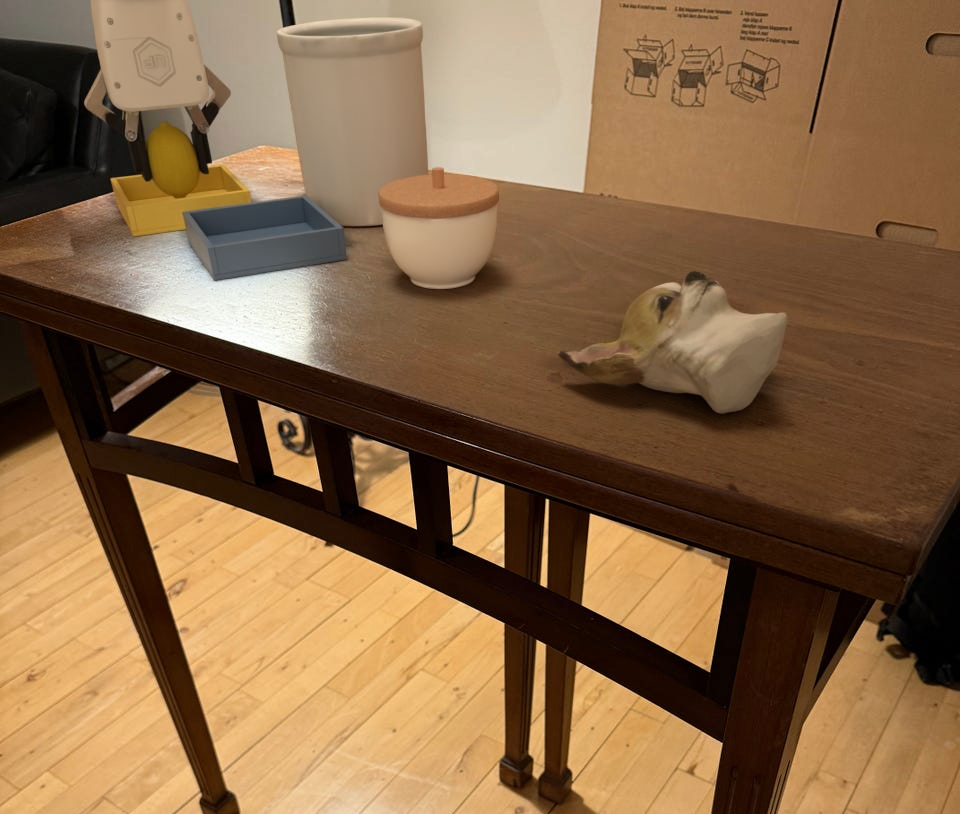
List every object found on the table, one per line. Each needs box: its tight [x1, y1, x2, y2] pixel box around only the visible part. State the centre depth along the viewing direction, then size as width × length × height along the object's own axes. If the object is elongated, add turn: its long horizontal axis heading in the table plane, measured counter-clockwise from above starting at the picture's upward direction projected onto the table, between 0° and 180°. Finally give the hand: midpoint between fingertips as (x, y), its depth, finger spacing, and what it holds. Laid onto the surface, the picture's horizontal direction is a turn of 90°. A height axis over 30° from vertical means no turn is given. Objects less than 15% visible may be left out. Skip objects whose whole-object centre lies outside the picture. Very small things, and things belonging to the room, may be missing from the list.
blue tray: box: [182, 194, 348, 281], centre depth 92 cm, size 13×13×3 cm
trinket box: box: [378, 166, 500, 290], centre depth 82 cm, size 11×11×9 cm
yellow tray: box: [110, 164, 253, 237], centre depth 103 cm, size 13×13×3 cm
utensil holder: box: [276, 17, 429, 227], centre depth 98 cm, size 15×15×18 cm
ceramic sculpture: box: [557, 270, 789, 415], centre depth 64 cm, size 11×9×15 cm
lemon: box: [145, 121, 199, 199], centre depth 100 cm, size 6×6×8 cm
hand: (175, 173), depth 101 cm, fingers closed on lemon, 5 cm apart
